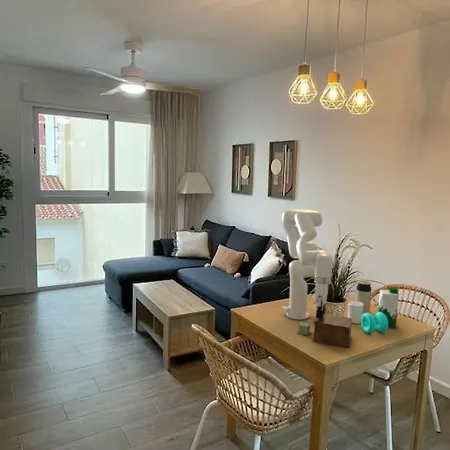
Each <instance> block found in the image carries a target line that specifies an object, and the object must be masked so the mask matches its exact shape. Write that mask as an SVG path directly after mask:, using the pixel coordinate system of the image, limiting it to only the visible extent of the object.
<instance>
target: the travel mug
mask: <svg viewBox="0 0 450 450" xmlns="http://www.w3.org/2000/svg"><path fill="white" fill-rule="evenodd" d="M371 284H372V282H371V280H366V279H359V280H357V285H356V290H355V301H357V302H361V303H363V304H364V305H363V313H362V315H363V314H364V313H370V314H371V301H372V300H371V298H372V286H371Z"/></svg>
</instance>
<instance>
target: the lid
mask: <svg viewBox="0 0 450 450" xmlns="http://www.w3.org/2000/svg"><path fill="white" fill-rule="evenodd" d="M321 307H322V306H321ZM323 308H324V307H323ZM351 321H352V318H348V316H347V317H346V316H340V315H335V314H327V313H325V315H323V319H320V318H316V316H315V317H314V318H313V321H312V323H313V324H314V325H315V324H321V325H327V326H333V327H339V328H345V329H350V325H351V326H352V324H351Z"/></svg>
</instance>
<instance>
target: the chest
mask: <svg viewBox="0 0 450 450" xmlns="http://www.w3.org/2000/svg"><path fill="white" fill-rule="evenodd" d="M352 324H353V323H352V321H351V325H350V329H345V328H339V327H333V326H327V325H321V324H315V323H314V327H313V329H314V331H313V342H315V343H320V344H325V345H331V346H337V347H343V348H349V346H350V343H351V338H352Z"/></svg>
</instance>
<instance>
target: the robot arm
mask: <svg viewBox="0 0 450 450" xmlns="http://www.w3.org/2000/svg"><path fill="white" fill-rule="evenodd" d="M281 222H282V223H281V224H282V228H283V230H284V232H285V234H286V239H287V247H288V253H289V256H290V257H291V258H293V259H294V260H292V261H291V262H290V263H289V265H288V271H289V299H288V300H289V301H288V302H289V304H288V305H287V306H285V305H281V310H282V311H283V312H285V316H286V317H288V318H290V319H293V320H307V319H308V318H310V314H309V312H307V307H308V283H307V282H306V280H305V278H313V279H314V280H313V282H314V283H315V287H314V296H313V297H314V299H313V304H314V305H316V310H315V311H316V312H315V317H316V318H320V319H323V315H325V314H326V302H327V299H328V293H329V292H328V291H329V285H330V284H331V283H332V282H331V281H332V263H333V256H332V255H331V254H330V253H327V251H326V250H323V249H319V248H318V245H317V244H316V242H315V241H313V240H315V239H316V238H317V235H318V232H317V229H316V227H321V225H322V224H323V216H322V214H321V212H319V210H313V209H287V210H285V211H284V212H283V213H282V215H281ZM321 306H322V307H321ZM323 307H324V308H323Z"/></svg>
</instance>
